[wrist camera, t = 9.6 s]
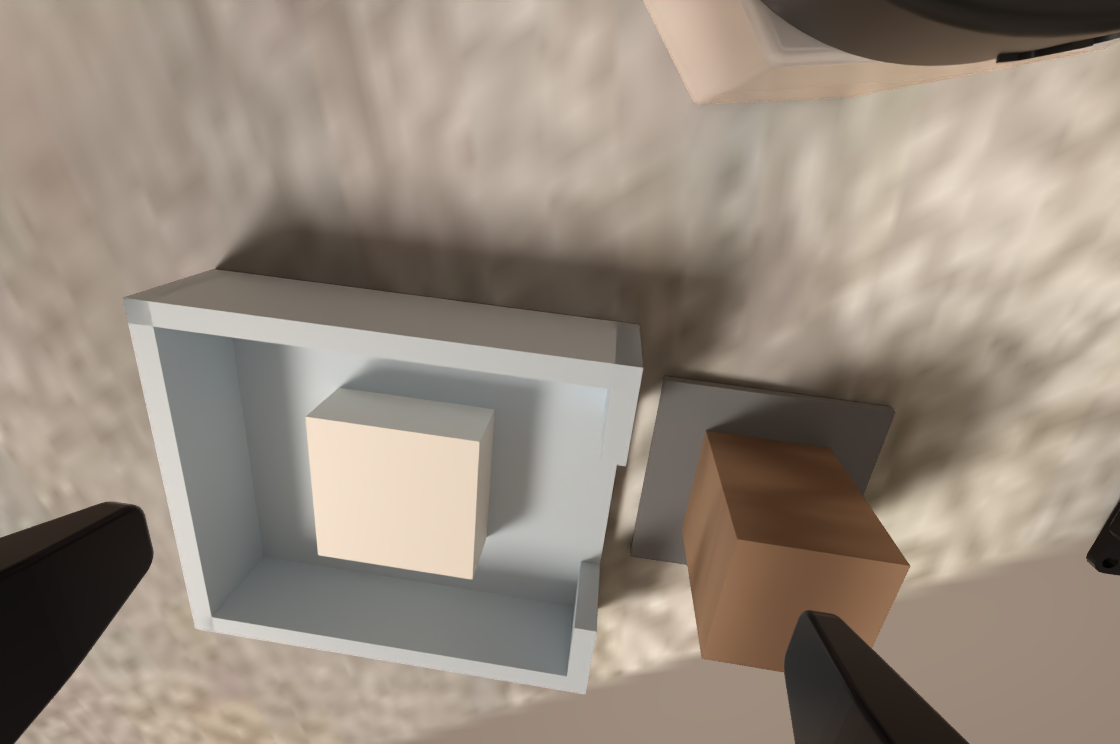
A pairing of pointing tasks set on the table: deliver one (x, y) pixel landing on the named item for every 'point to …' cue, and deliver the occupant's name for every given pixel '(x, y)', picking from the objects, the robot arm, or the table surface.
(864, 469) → the rubber mat
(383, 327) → the access box
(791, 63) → the jar
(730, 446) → the walnut block
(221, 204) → the table surface
